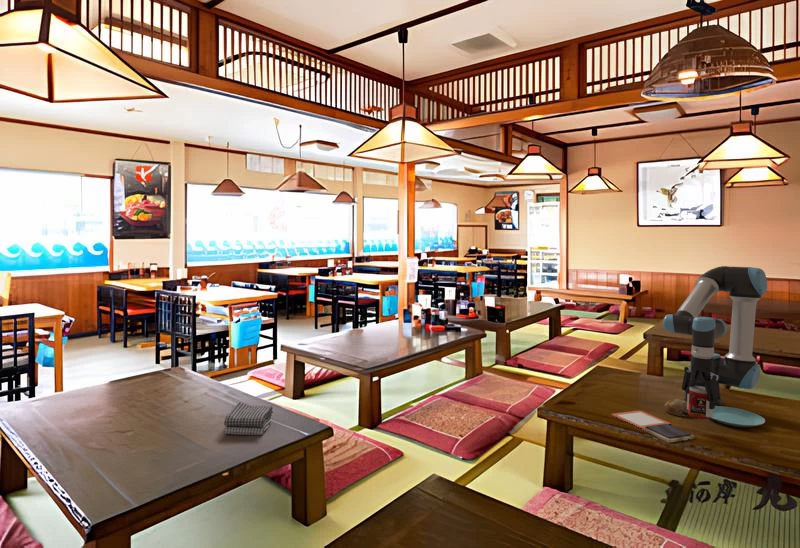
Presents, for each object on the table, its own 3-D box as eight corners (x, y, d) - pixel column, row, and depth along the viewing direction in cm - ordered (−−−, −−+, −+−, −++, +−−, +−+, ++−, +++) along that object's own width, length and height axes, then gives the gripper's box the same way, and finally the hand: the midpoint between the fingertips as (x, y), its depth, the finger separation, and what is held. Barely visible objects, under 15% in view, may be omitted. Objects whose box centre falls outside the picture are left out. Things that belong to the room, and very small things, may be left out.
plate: (736, 433, 194) (736, 426, 194) (689, 413, 215) (690, 407, 215) (778, 428, 200) (779, 421, 200) (729, 410, 221) (729, 404, 221)
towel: (222, 437, 181) (222, 416, 181) (236, 419, 199) (236, 400, 199) (264, 437, 182) (264, 416, 181) (274, 419, 200) (274, 400, 200)
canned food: (688, 417, 193) (689, 390, 192) (687, 410, 200) (688, 384, 199) (711, 420, 189) (713, 393, 188) (709, 414, 196) (711, 387, 195)
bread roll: (672, 424, 212) (680, 410, 208) (657, 407, 220) (663, 393, 217) (691, 422, 214) (698, 409, 211) (674, 405, 223) (681, 392, 219)
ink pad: (666, 426, 199) (666, 422, 199) (694, 438, 187) (695, 434, 187) (641, 429, 195) (641, 425, 195) (668, 442, 183) (669, 438, 183)
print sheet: (640, 411, 217) (640, 410, 217) (670, 424, 201) (670, 423, 201) (611, 415, 211) (611, 413, 211) (640, 428, 196) (640, 427, 196)
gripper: (672, 351, 201) (670, 405, 203) (719, 363, 181) (716, 423, 183) (686, 349, 203) (683, 403, 205) (734, 362, 184) (731, 420, 186)
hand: (699, 412), depth 194 cm, fingers closed on canned food, 8 cm apart
